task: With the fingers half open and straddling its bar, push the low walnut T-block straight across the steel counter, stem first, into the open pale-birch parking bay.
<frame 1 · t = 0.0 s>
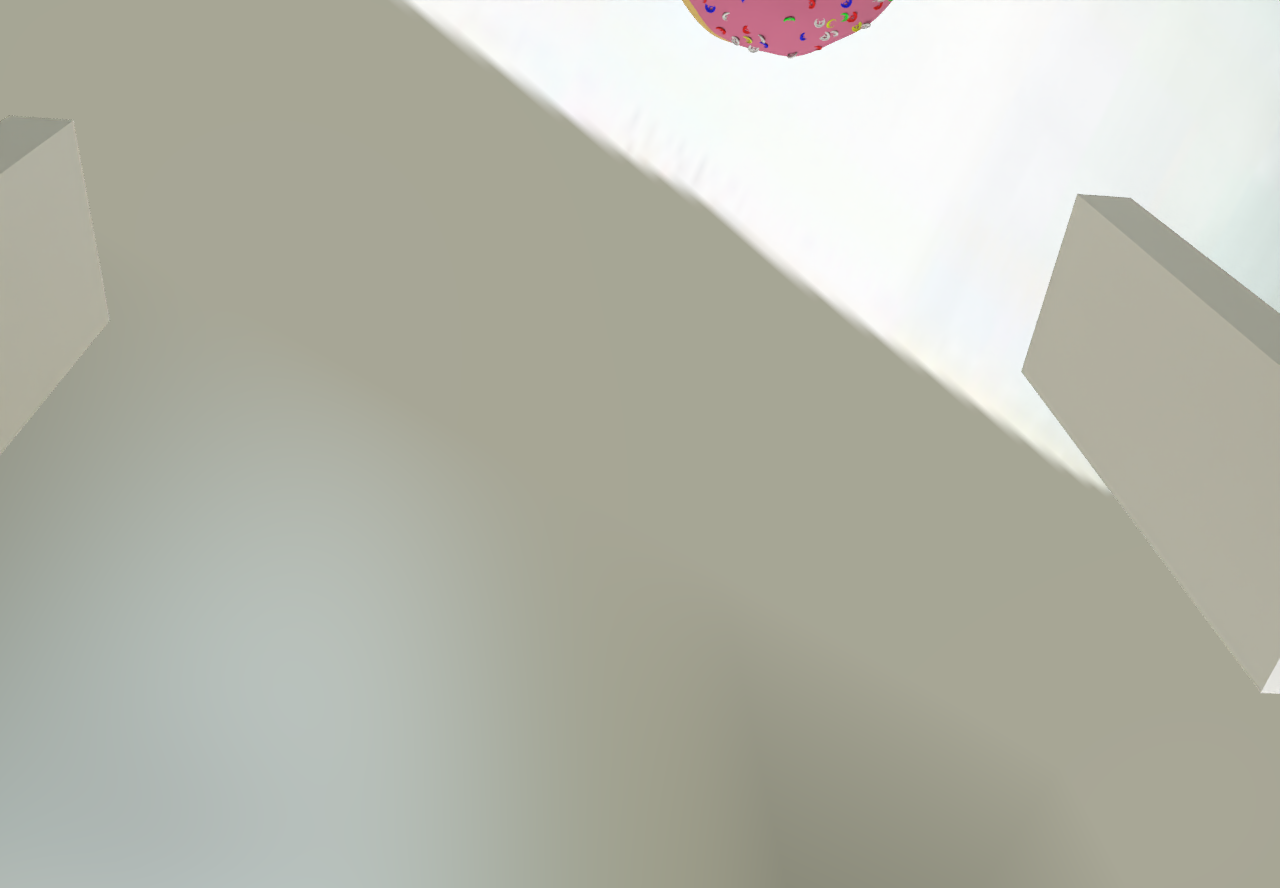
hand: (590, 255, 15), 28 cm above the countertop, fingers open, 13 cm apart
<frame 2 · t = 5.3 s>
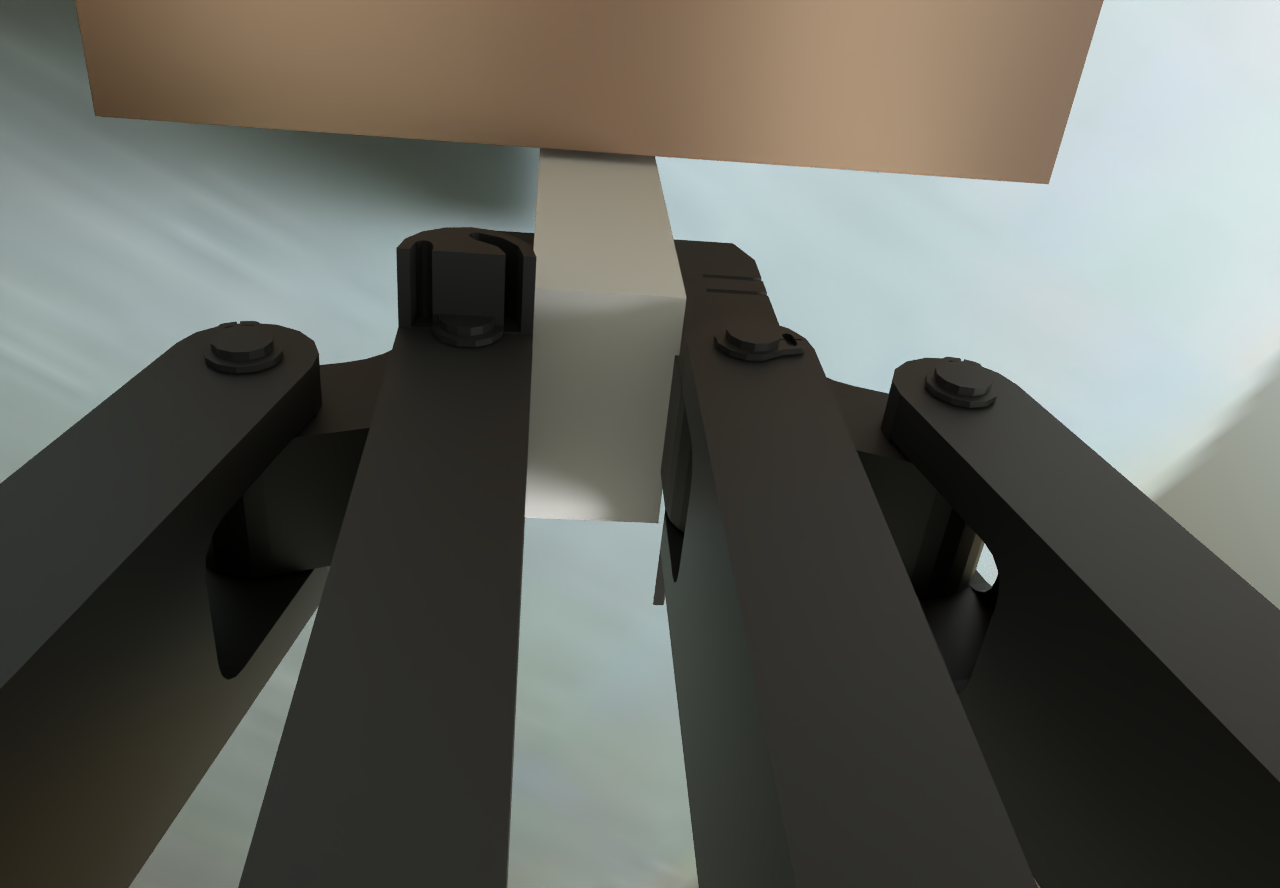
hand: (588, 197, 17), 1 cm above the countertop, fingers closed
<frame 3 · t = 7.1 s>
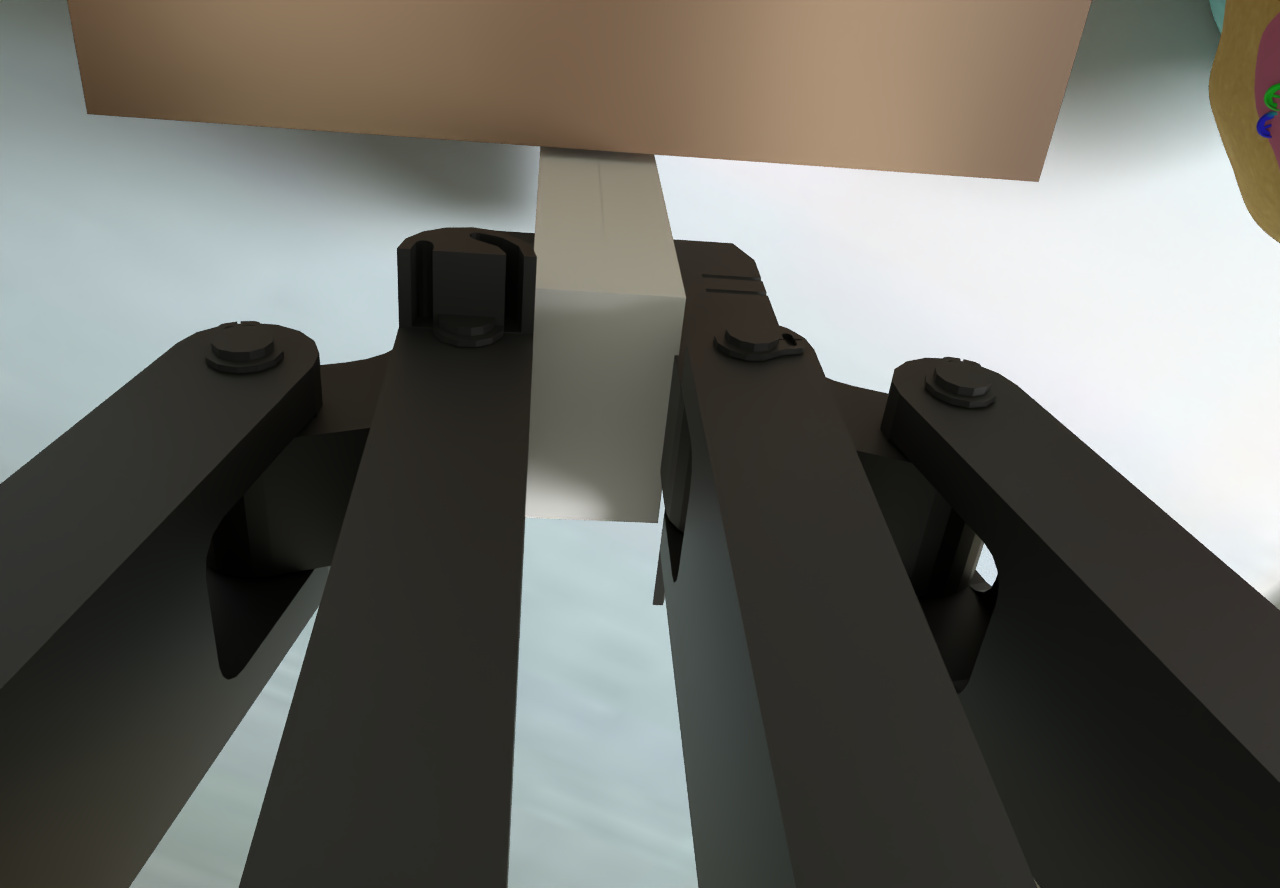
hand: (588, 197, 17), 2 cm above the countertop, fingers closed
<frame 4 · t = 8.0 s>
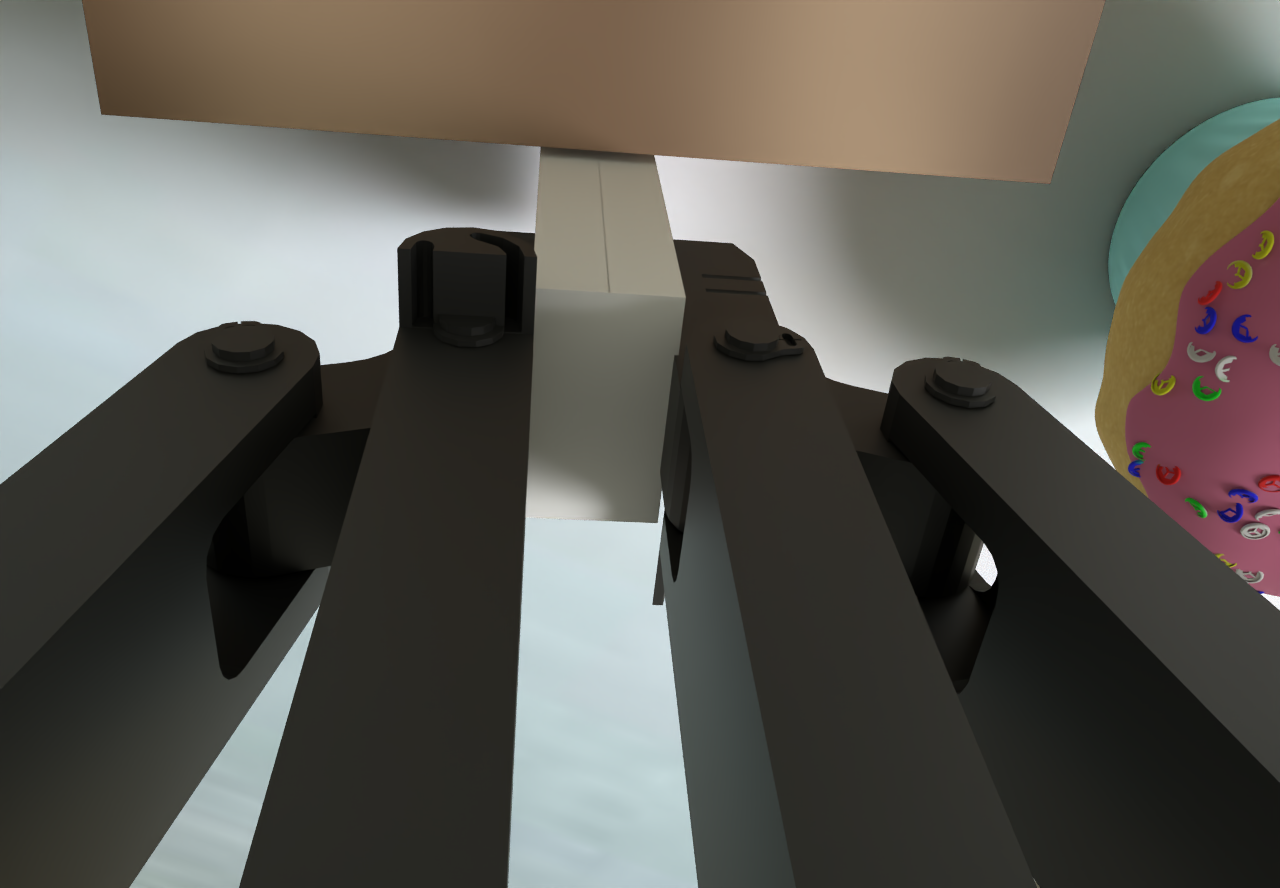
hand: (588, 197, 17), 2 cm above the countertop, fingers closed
cupcake: (1240, 230, 19), on the countertop
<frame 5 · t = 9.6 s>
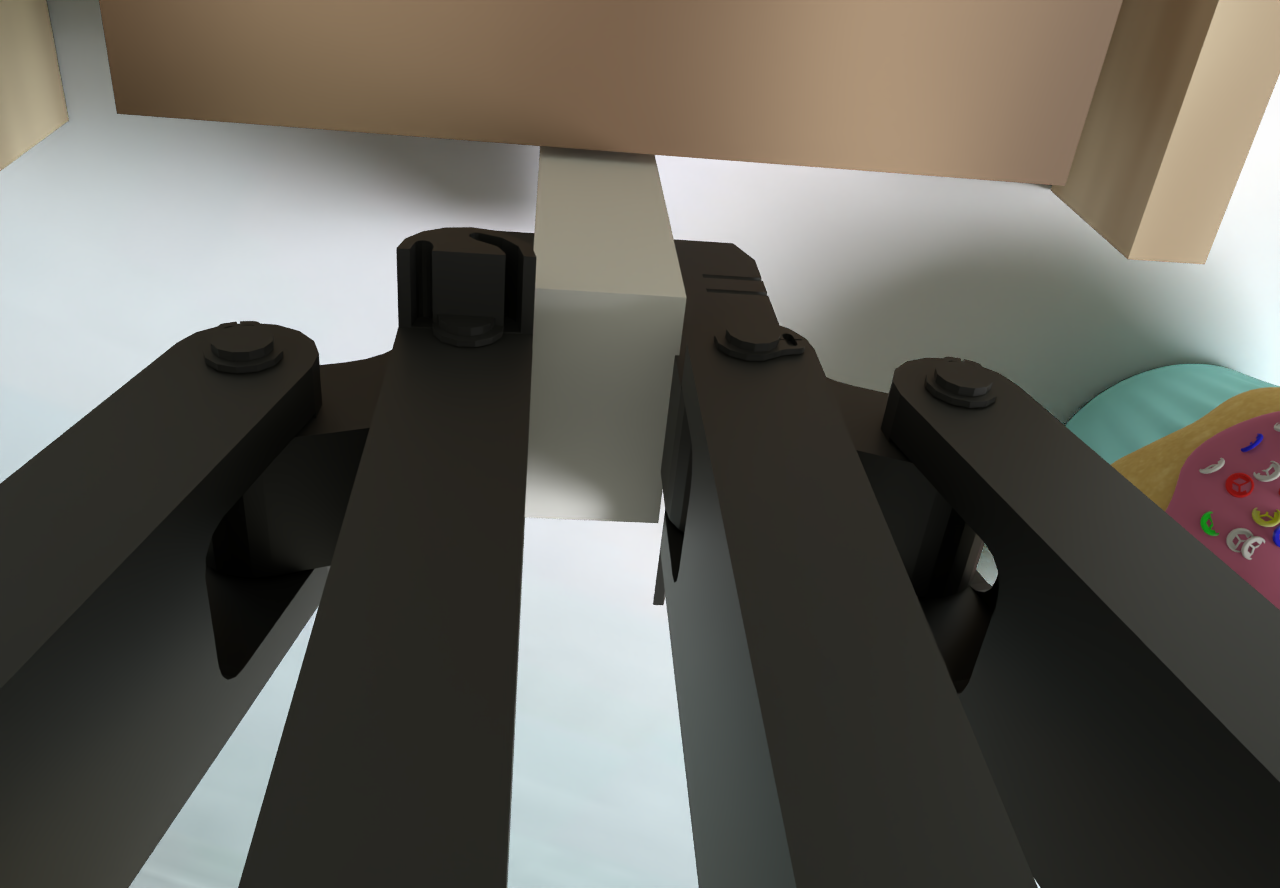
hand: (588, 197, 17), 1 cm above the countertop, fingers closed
cupcake: (1156, 462, 22), on the countertop
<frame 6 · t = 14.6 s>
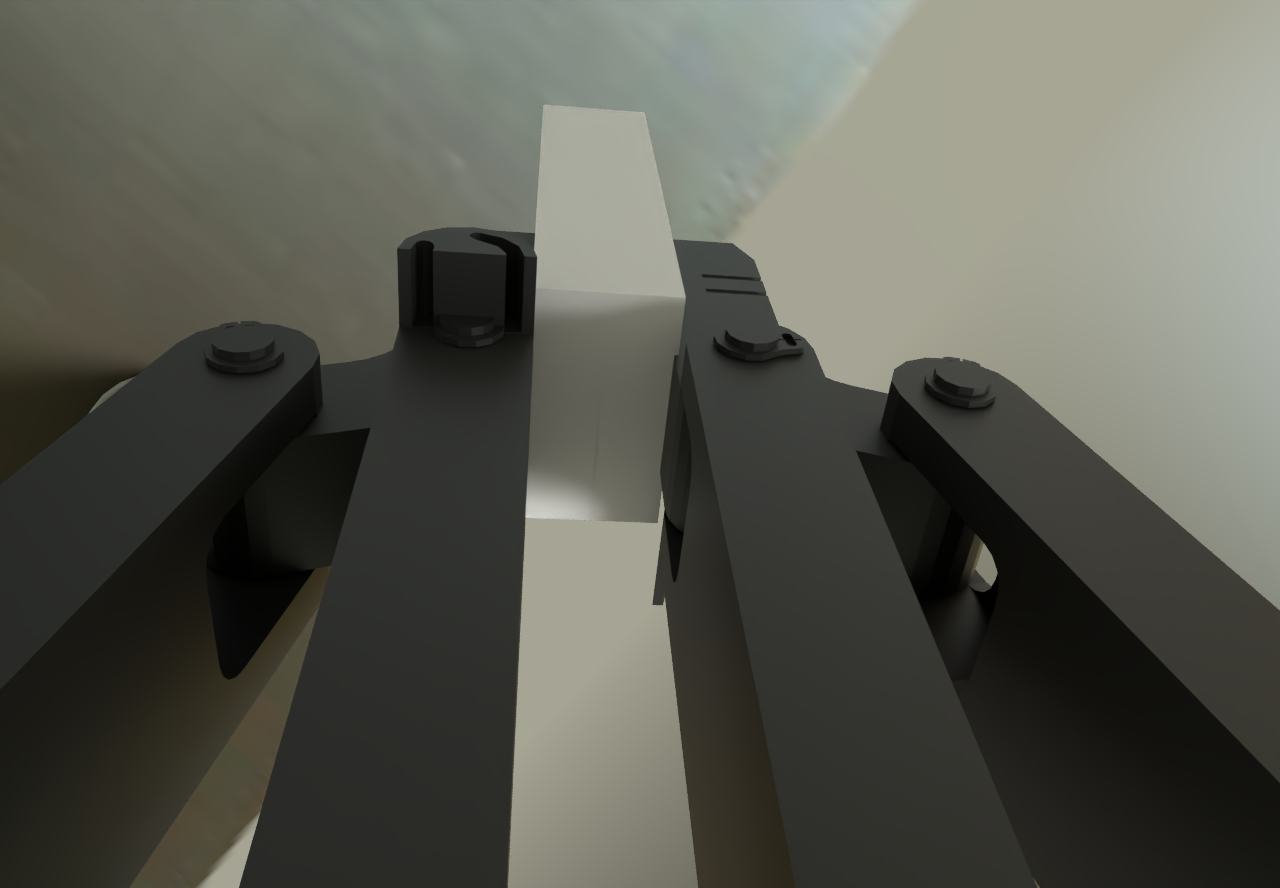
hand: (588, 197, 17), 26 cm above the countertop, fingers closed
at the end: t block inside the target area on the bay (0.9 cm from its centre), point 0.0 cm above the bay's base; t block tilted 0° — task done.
